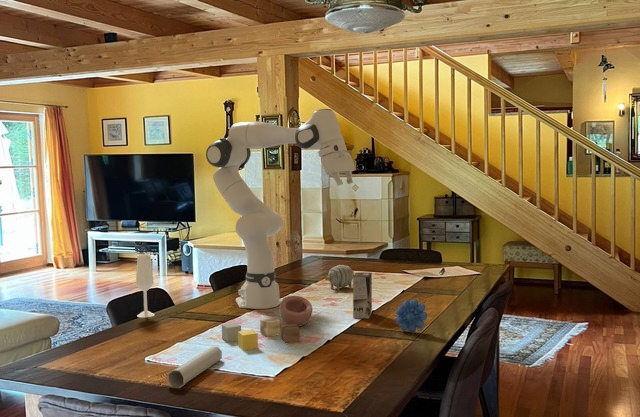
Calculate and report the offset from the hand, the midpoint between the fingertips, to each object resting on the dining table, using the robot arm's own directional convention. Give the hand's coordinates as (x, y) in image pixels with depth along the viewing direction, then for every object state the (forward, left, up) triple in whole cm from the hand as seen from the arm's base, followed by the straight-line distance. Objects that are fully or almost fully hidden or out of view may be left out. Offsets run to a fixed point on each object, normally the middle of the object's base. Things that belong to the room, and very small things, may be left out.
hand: (345, 184), depth 240 cm
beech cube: (+9, -35, -51) cm, 62 cm away
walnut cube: (+20, -32, -51) cm, 63 cm away
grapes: (+30, +10, -51) cm, 60 cm away
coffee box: (+2, +6, -51) cm, 52 cm away
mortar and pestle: (+4, -23, -51) cm, 56 cm away
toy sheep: (-46, +21, -51) cm, 72 cm away
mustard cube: (+20, -47, -51) cm, 72 cm away
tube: (+36, -68, -51) cm, 92 cm away
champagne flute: (-38, -69, -51) cm, 94 cm away
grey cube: (+9, -49, -51) cm, 71 cm away
